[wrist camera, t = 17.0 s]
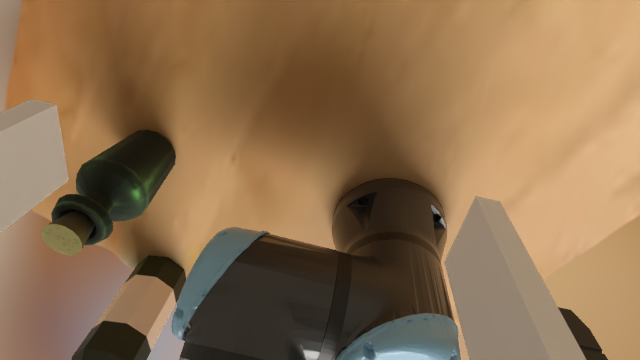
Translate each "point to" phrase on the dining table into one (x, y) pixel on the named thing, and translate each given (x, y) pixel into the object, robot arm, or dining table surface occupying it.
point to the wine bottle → (135, 313)
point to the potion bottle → (110, 191)
